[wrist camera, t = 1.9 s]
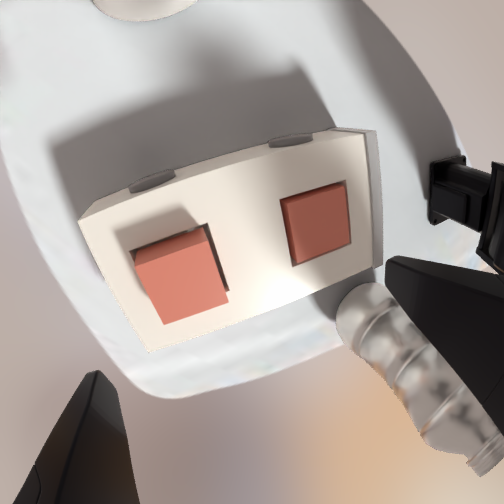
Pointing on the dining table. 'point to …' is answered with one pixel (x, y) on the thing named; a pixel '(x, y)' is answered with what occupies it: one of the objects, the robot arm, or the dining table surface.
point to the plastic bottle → (418, 376)
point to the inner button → (315, 221)
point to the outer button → (181, 276)
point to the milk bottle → (142, 8)
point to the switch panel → (240, 227)
